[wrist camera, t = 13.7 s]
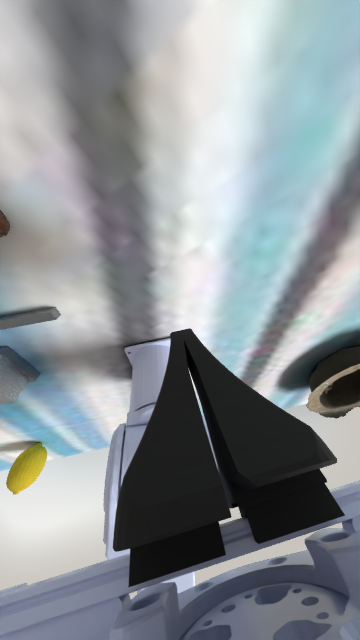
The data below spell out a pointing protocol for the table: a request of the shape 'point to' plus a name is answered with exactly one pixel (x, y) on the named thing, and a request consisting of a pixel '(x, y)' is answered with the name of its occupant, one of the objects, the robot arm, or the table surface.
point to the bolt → (3, 225)
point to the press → (7, 366)
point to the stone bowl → (336, 384)
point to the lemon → (26, 468)
